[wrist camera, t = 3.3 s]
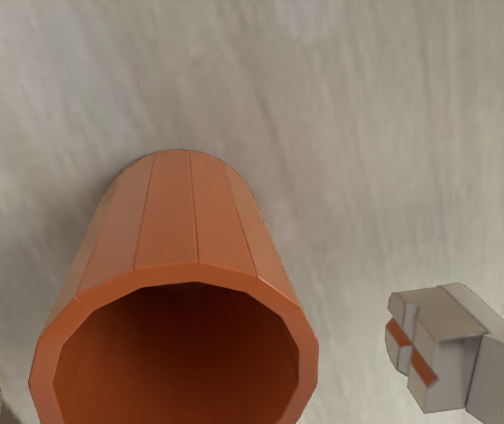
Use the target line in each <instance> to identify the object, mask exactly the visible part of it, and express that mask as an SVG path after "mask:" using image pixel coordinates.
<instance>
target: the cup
mask: <svg viewBox="0 0 504 424" xmlns="http://www.w3.org/2000/svg"><path fill="white" fill-rule="evenodd" d="M318 354H319V344H318V340H317V337H316V335H315V333H314V331H313V328H312V326H311V324H310V322H309V319H308V317H307V315H306V313H305V310H304V308H303V306H302V304H301V301H300V299H299V297H298V295H297V292H296V290H295V288H294V286H293V283H292V281H291V279H290V277H289V274H288V272H287V270H286V268H285V265H284V263H283V261H282V259H281V256H280V254H279V252H278V250H277V247H276V245H275V243H274V241H273V238H272V236H271V234H270V232H269V229H268V227H267V225H266V223H265V220H264V218H263V216H262V214H261V211H260V209H259V207H258V205H257V203H256V201H255V199H254V197H253V195H252V193H251V191H250V189H249V187H248V185H247V184H246V182H245V181H244V180H243V179H242V177H241V176H240V175H239V174H238V173H237V172H236V171H235V170H234V169H233V168H232V167H230V166H229V165H227V164H226V163H225V162H223V161H221V160H219V159H217V158H215V157H213V156H210V155H208V154H205V153H201V152H197V151H191V150H167V151H160V152H157V153H153V154H150V155H147V156H145V157H143V158H140V159H139V160H137V161H135V162H133V163H132V164H130V165H129V166H128V167H126V168H125V169H124V170H123V171H122V172H121V173H120V174H119V175H118V176H117V177H116V178H115V179H114V180H113V182H112V183H111V185H110V186H109V188H108V190H107V192H106V193H105V194H104V195H103V197H102V199H101V201H100V203H99V205H98V208H97V210H96V212H95V214H94V216H93V219H92V221H91V223H90V225H89V227H88V230H87V232H86V234H85V236H84V239H83V241H82V243H81V245H80V247H79V250H78V252H77V254H76V256H75V258H74V261H73V263H72V265H71V267H70V269H69V272H68V274H67V276H66V278H65V280H64V283H63V285H62V287H61V289H60V292H59V294H58V296H57V298H56V300H55V303H54V305H53V307H52V309H51V311H50V314H49V316H48V318H47V320H46V322H45V325H44V327H43V329H42V331H41V333H40V336H39V338H38V340H37V345H36V349H35V354H34V358H33V363H32V367H31V372H30V376H29V380H28V384H29V386H28V387H29V390H30V393H31V396H32V399H33V402H34V405H35V408H36V411H37V414H38V417H39V419H40V422H41V424H296V422H297V421H298V420H299V418H300V416H301V414H302V412H303V411H304V409H305V407H306V405H307V403H308V401H309V399H310V397H311V396H312V394H313V392H314V390H315V388H316V384H317V381H318Z"/></svg>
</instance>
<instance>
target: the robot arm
mask: <svg viewBox="0 0 504 424" xmlns="http://www.w3.org/2000/svg"><path fill="white" fill-rule="evenodd" d="M388 310H389V312H390V313H391V314H392V316H393V317H392V319H391V320H390V321H389V322H388V324H387V325H386V328H385V343H386V348H387V352H388V355H389V357H390V360H391V362H392V364H393V365H394V367H395V369H396V370H397V371H399V372H400V373H402V374H404V375H405V376H407V377H408V383H407V388H408V389H409V391H410V393H411V394H412V396H413V397H414V399H415V400H416V402H417V404H418V405H419V407H420V408H421V410H422V411H423V413H424V414H427V413H434V412H442V411H449V410H456V409H464V408H466V410H465V411H467V412H468V413H470V414H471V415H472V416H474V417H475V418H477V419H478V420H480V421H481V422H482V423H484V424H504V319H503V318H502V317H501V316H500V315H498V314H497V313H496V312H495V311H494V310H493V309H492V308H491V307H490V306H488V305H487V304H486V303H485V302H484V301H483V300H482V299H481V298H479V297H478V296H477V295H476V294H475V293H474V292H473V291H472V290H471V289H469V288H468V287H467V286H466V285H464V284H462V283H459V282H458V283H452V284H446V285H439V286H436V287H431V288H424V289H416V290H409V291H401V292H394V293H392V294H391V296H390V298H389V302H388ZM1 406H2V395H1V389H0V412H1Z"/></svg>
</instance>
